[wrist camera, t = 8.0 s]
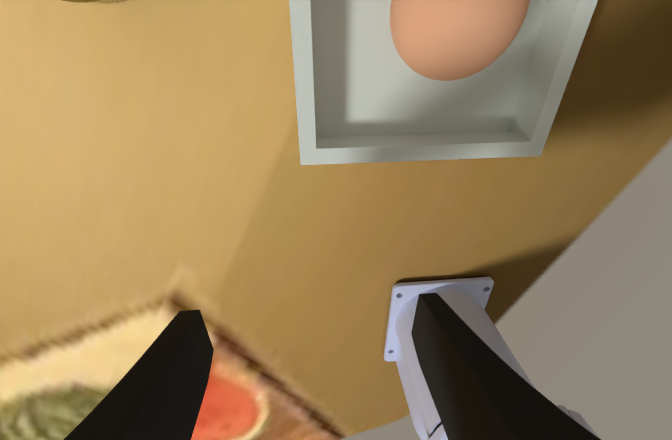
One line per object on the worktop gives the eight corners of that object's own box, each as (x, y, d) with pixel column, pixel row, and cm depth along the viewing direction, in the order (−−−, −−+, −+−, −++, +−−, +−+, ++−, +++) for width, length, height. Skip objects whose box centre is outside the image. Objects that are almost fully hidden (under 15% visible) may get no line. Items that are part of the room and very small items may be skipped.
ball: (463, 76, 16) (534, 90, 11) (369, 73, 15) (407, 87, 10) (493, -53, 13) (598, -96, 9) (381, -65, 12) (438, -120, 8)
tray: (512, 141, 18) (540, 155, 16) (301, 148, 17) (300, 165, 15) (614, -189, 11) (685, -238, 9) (277, -207, 10) (270, -266, 8)
